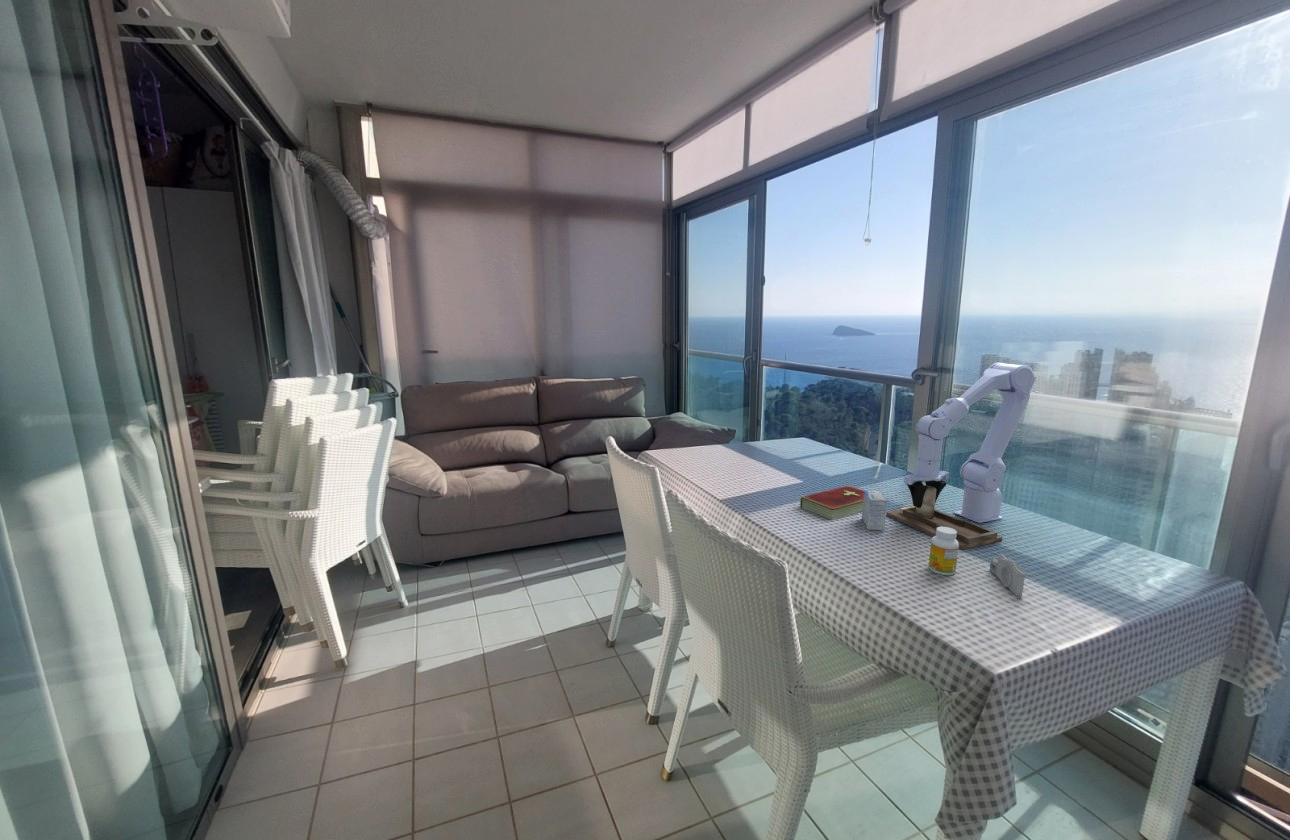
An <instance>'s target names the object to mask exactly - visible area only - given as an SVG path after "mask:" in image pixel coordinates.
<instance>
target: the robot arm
mask: <svg viewBox="0 0 1290 840" xmlns="http://www.w3.org/2000/svg"><path fill="white" fill-rule="evenodd" d="M1036 379H1037V377H1036V375H1035V373H1034V370H1033V369H1032V367H1030V366H1029V365H1025V364H1023V365H1020V364H1011V363H1004V362H995V363H993V364H991V365H990V366H989V367H988V368H987V369H985V370H984V371H983V375H982V376H981V377H980V378H979V379H978V380H976V381H975V382H974V383H973V384H972V385H971V386H970V387H969V388H968V389H967V390H965V391H964V392H963V393H962V394H961V395H960V396H959V397H951V398H947V399H945V400H944V403H943V404H942V405H940V407H938V408H937V409H935V410H933V411H931V414H929V415H923V416H922V417H921V418H920V419H919V420H918V422H917V424H915V425H914V426H915V431H916V432H917V434H918V437H917V438H918V439H919V440H918V447H917V456H916V466H915V468H916V469H915V472H913V473H911V474H908V475H905V476H904V477H903V484H906V486H907V488H908V490H909V493H910V495H911V499H912V500H911V501H912V506H915V507H917V508H921V506H922V503H923V497H924V494H925V492H926V490H927V488H928V486H932V487H934V488H936V489H937V490H936V498H935V504H936V503H937V501H938V498H939V496H940V494H941V492H942V491H943V490H944V488H945V487H946V486H947V481H946V480H949V477H950V472H948V471H945V470H940V468H941V461H942V460H941V459H942V451H943V445H944V444H943V441H944V438H947V436H949V433H950V431H951V429H952V428H953V426H954V425H955V424H957V422H958V421H960V420H961V419H962V418H964V417H965V416H966V415H967V414H968V413H969V411H970V410H969V409H970V406H972V405H973V404H975V403H977V402H978V401H980V400H981V399H982V398H984V397H985V396H987V395H988V394H989V393H991V392H992V391H994V390H996V391H997V393H999V394H1000V396H1001V398H1002V401H1001V404H1000V406H999V408H998V410H997V412H996V414H995V416H994V418H993V420H992V423H991V425H990V427H989V429H988V431H987V434H986V435H985V438H984V439H983V442H982V445H981V446H980V448H979V450H978V451H975V452H974V453H971V454H970V455H969V457H968V459H967V460H966V461H965V462H963V464H962V465H961V467H960V470H959V474H960V478H961V479H963V484H964V490H963V499H962V505H961V506H962V507H961V510H957V511H953V514H955V515H958V516H960V517H962V518H965V519H968V520H970V521H973V522H976V523H979V524H981V523H986V522H987V523H988V522H993V521H996V520H1001V519H1003V516H1001V515H1000V514H1001V507H1002V501H1003V495H1002V492H1001V490H1000V489H999V488H1000V487H1001V486H1002V484H1003V482H1004V477H1005V476H1004V475H1005V471H1006V469H1007V466H1006V465H1005V464H1004V461H1003V460H1002V458H1003V456H1004V453H1005V451H1006V449H1007V447H1008V444H1009V442H1010V441H1011V438H1012V436H1013V434H1014V432H1015V430H1016V428H1017V427H1018V424H1019V422H1020V420H1021V417H1022V416H1023V415H1024V412H1025V410H1026V408H1027V406H1028V403H1029V401H1030V395H1031V390H1032V387H1034V384H1035V382H1036ZM944 480H945V481H944ZM923 482H924V483H925V484H924V483H923ZM925 485H926V486H925Z"/></svg>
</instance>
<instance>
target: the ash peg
mask: <svg viewBox="0 0 1290 840" xmlns="http://www.w3.org/2000/svg"><path fill="white" fill-rule="evenodd" d="M924 485H925V486H926V484H924ZM936 490H937V489H936V488H934V487H932V486H928V488H927V490H926V492H925V494H924V497H923V503H922V506H921V508H917V507H916V513H917V514H919V515H921V516H924V517H926V518H932V517H933V516H934V509H935V506H936V503H935V498H936Z"/></svg>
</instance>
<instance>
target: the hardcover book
mask: <svg viewBox="0 0 1290 840" xmlns="http://www.w3.org/2000/svg"><path fill="white" fill-rule="evenodd" d="M864 491H865V490H863V489H861V488H859V487H855V486H851V485H845V486H842V487H841V486H840V487H836V488H832V489H828V490H824V491H820V492H815V493H813V494H812V493H811V494H807V495H803V496H801V497H800V502H799V503H800V504H799V506H800V509H804V510H807V511H809V512H812V513H814V514H816V515H818V516H821V517H823V518H826V519H829V520H836V519H839V518H844V517H847V516H850V515H854V514H857V513H860V512H861V513H862V509H863V496H864Z"/></svg>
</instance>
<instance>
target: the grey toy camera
mask: <svg viewBox="0 0 1290 840" xmlns="http://www.w3.org/2000/svg"><path fill="white" fill-rule="evenodd" d="M989 559H990V563H989V569H990V570H989V571H991V572H992V573H993V574H994V575H995V576H996V577H997V578H998V579H999V580H1000V582H1001V583H1002V584H1003V586H1004V587H1005V588H1006V587H1007V588H1008V589H1009V590H1010V592H1012V594H1013V595H1015V596H1016V597H1017V596H1020V597H1022V596H1023V592H1024V585H1025V578H1027V577H1028V576H1029V575H1028V574H1027V573H1025V572H1024V571H1023V569H1022V568H1021V566H1020V565H1019V563H1018V562H1016V560H1013V559H1012V558H1011V559H1010V558H1008V556H1007V555H1005V554H1003V553H1000V554H998V555H997V557H995V556H993V557H990V558H989Z"/></svg>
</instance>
